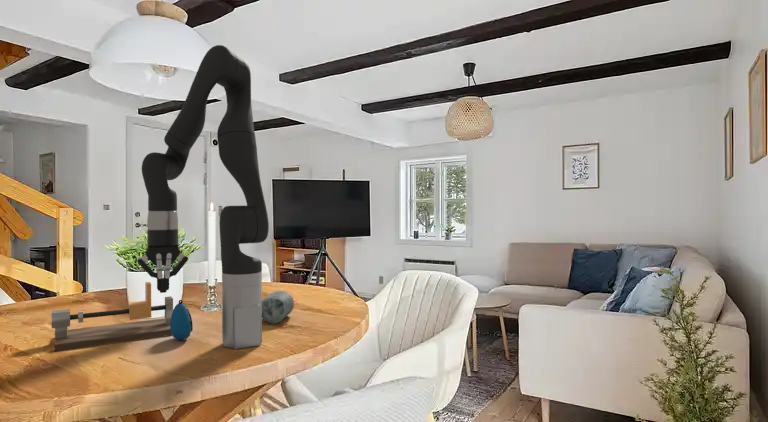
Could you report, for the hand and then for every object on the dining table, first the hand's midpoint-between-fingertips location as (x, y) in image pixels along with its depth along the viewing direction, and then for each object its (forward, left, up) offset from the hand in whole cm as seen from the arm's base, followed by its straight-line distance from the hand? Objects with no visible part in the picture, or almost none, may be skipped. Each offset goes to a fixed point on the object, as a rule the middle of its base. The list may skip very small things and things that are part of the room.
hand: (163, 292), depth 126 cm
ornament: (-13, -2, -10) cm, 17 cm away
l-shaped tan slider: (0, +6, -6) cm, 8 cm away
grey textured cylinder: (-6, -29, -10) cm, 32 cm away
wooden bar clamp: (0, +11, -10) cm, 15 cm away
